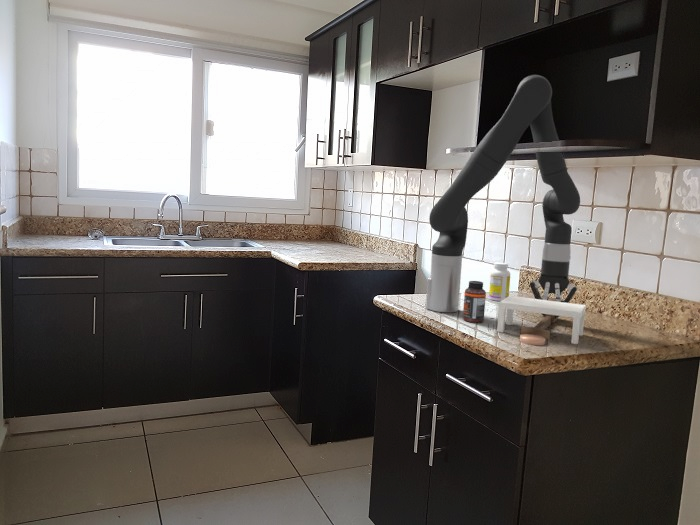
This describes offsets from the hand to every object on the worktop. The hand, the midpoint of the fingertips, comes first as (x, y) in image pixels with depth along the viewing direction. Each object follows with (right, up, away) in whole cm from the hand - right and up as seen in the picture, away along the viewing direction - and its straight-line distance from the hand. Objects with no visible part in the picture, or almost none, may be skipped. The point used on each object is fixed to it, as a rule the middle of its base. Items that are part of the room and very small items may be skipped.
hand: (550, 317), depth 164 cm
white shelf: (-8, -3, -15) cm, 17 cm away
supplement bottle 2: (-7, +3, +32) cm, 33 cm away
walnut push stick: (-4, -2, -7) cm, 8 cm away
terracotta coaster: (-13, -4, -24) cm, 28 cm away
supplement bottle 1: (-23, -1, -3) cm, 24 cm away
